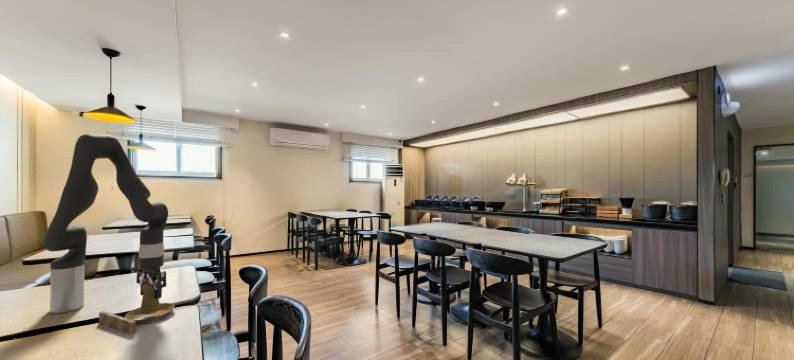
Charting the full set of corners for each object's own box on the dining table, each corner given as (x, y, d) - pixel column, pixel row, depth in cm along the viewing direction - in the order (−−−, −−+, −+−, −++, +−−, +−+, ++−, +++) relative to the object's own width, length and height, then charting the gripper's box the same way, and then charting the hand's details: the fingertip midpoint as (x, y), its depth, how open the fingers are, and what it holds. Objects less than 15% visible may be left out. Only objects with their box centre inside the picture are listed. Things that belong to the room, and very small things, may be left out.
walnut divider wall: (99, 323, 109) (99, 312, 109) (103, 321, 110) (103, 310, 110) (131, 334, 102) (131, 322, 102) (135, 332, 103) (135, 321, 103)
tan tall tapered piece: (148, 315, 111) (148, 286, 111) (135, 312, 113) (136, 284, 112) (164, 308, 117) (164, 280, 117) (151, 305, 119) (152, 278, 118)
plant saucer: (162, 324, 109) (162, 317, 109) (114, 329, 106) (114, 321, 106) (181, 307, 124) (181, 301, 124) (140, 311, 121) (140, 304, 121)
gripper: (128, 254, 114) (128, 297, 114) (152, 259, 109) (151, 303, 109) (151, 250, 121) (150, 290, 121) (173, 254, 116) (173, 296, 116)
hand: (150, 296), depth 115 cm, fingers open, 8 cm apart
